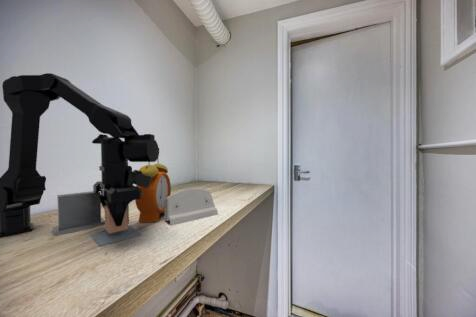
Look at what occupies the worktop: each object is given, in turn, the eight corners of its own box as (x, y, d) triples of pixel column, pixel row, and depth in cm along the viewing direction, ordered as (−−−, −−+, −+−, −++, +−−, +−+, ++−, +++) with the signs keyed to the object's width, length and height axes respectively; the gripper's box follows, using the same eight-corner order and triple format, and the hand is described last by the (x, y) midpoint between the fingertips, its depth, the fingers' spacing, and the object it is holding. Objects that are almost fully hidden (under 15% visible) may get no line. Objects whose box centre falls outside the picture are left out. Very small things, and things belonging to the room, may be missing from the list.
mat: (91, 235, 50) (91, 234, 50) (129, 225, 57) (129, 225, 57) (99, 246, 44) (99, 245, 44) (141, 234, 50) (141, 233, 50)
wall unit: (53, 230, 53) (52, 195, 53) (101, 220, 61) (101, 189, 61) (54, 236, 50) (53, 198, 50) (106, 224, 58) (105, 191, 57)
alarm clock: (155, 223, 58) (154, 155, 58) (134, 223, 58) (133, 155, 58) (171, 210, 71) (171, 155, 71) (154, 210, 72) (154, 155, 71)
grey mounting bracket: (169, 225, 56) (165, 191, 59) (164, 227, 60) (160, 194, 62) (219, 214, 67) (213, 185, 69) (212, 215, 71) (206, 188, 73)
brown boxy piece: (105, 229, 50) (104, 200, 50) (122, 225, 53) (122, 198, 53) (109, 233, 47) (108, 203, 47) (127, 229, 50) (127, 200, 50)
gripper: (163, 162, 49) (163, 224, 50) (135, 160, 62) (136, 210, 63) (111, 163, 41) (112, 238, 42) (92, 161, 54) (93, 218, 55)
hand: (116, 223), depth 50 cm, fingers closed on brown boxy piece, 4 cm apart
